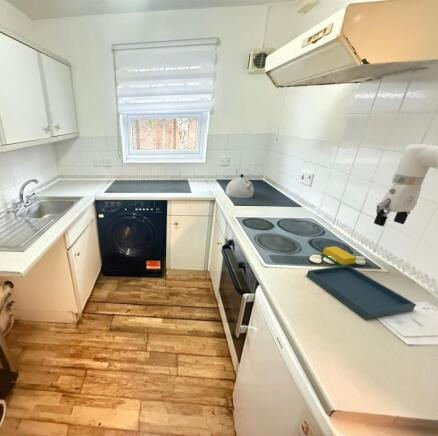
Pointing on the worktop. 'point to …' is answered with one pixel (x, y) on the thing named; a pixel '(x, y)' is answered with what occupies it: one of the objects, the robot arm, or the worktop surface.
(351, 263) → the sponge
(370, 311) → the tray
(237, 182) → the kettle
